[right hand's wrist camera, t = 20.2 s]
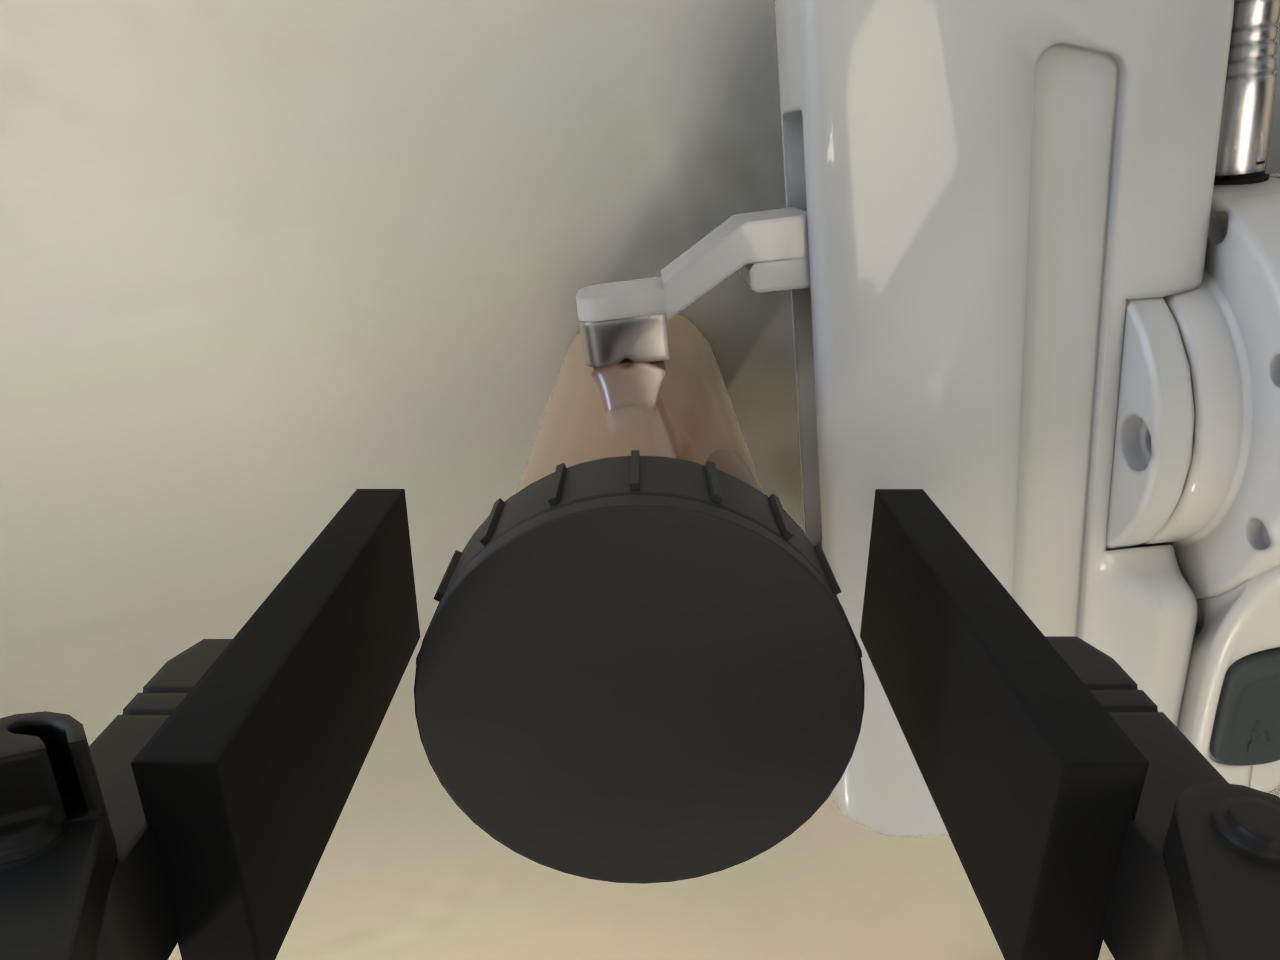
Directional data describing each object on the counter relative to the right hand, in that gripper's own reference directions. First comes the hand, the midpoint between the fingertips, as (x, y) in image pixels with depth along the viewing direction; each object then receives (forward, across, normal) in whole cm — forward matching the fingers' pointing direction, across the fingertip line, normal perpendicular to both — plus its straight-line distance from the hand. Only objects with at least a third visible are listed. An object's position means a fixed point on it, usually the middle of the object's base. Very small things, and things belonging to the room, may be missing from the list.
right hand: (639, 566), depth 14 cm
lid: (-4, 0, 0) cm, 4 cm away
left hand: (+6, -1, 0) cm, 6 cm away
